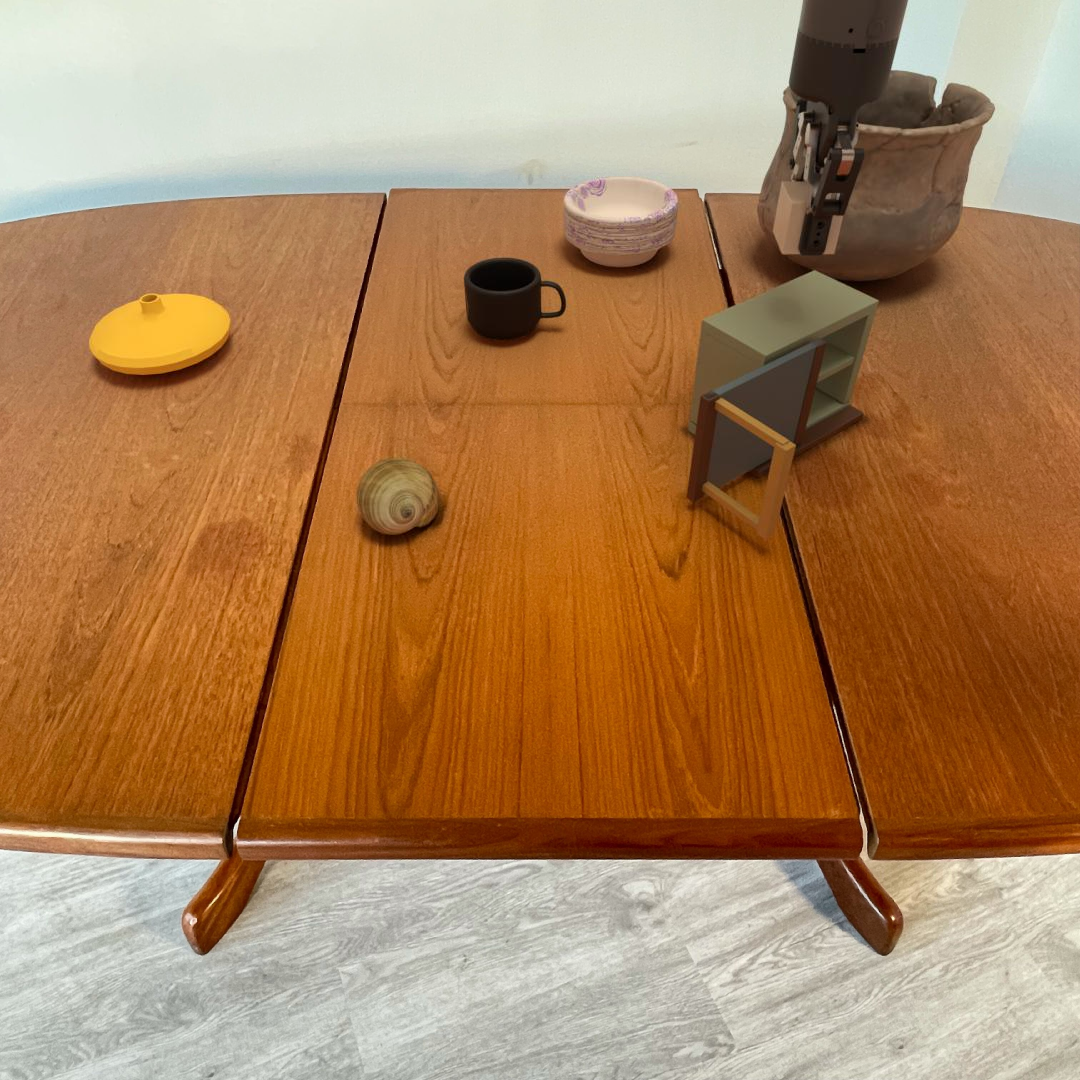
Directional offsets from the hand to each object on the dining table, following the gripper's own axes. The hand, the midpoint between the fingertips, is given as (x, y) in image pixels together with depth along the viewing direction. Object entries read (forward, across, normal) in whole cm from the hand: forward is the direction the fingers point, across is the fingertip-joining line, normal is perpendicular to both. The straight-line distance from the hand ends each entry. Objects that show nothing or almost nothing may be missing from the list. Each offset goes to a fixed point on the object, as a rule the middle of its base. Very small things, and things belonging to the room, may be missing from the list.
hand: (804, 239), depth 79 cm
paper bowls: (+21, -39, -14) cm, 46 cm away
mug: (+21, -19, -27) cm, 39 cm away
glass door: (+19, +12, -1) cm, 23 cm away
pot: (+20, -36, +16) cm, 44 cm away
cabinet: (+20, -1, 0) cm, 20 cm away
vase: (+21, -14, -68) cm, 73 cm away
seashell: (+21, +14, -37) cm, 45 cm away
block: (0, 0, 0) cm, 0 cm away
